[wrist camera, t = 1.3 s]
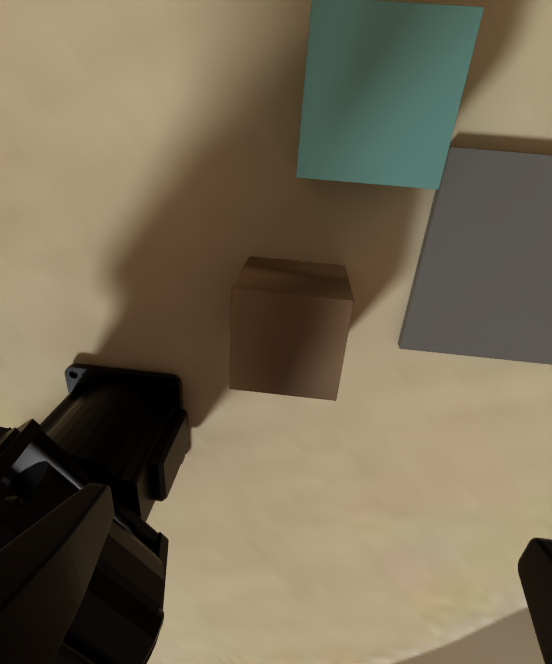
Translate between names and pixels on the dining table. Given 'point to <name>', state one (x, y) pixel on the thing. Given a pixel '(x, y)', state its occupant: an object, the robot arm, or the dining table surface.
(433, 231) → the slate tile
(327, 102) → the teal cube
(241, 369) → the walnut cube
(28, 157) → the dining table surface
